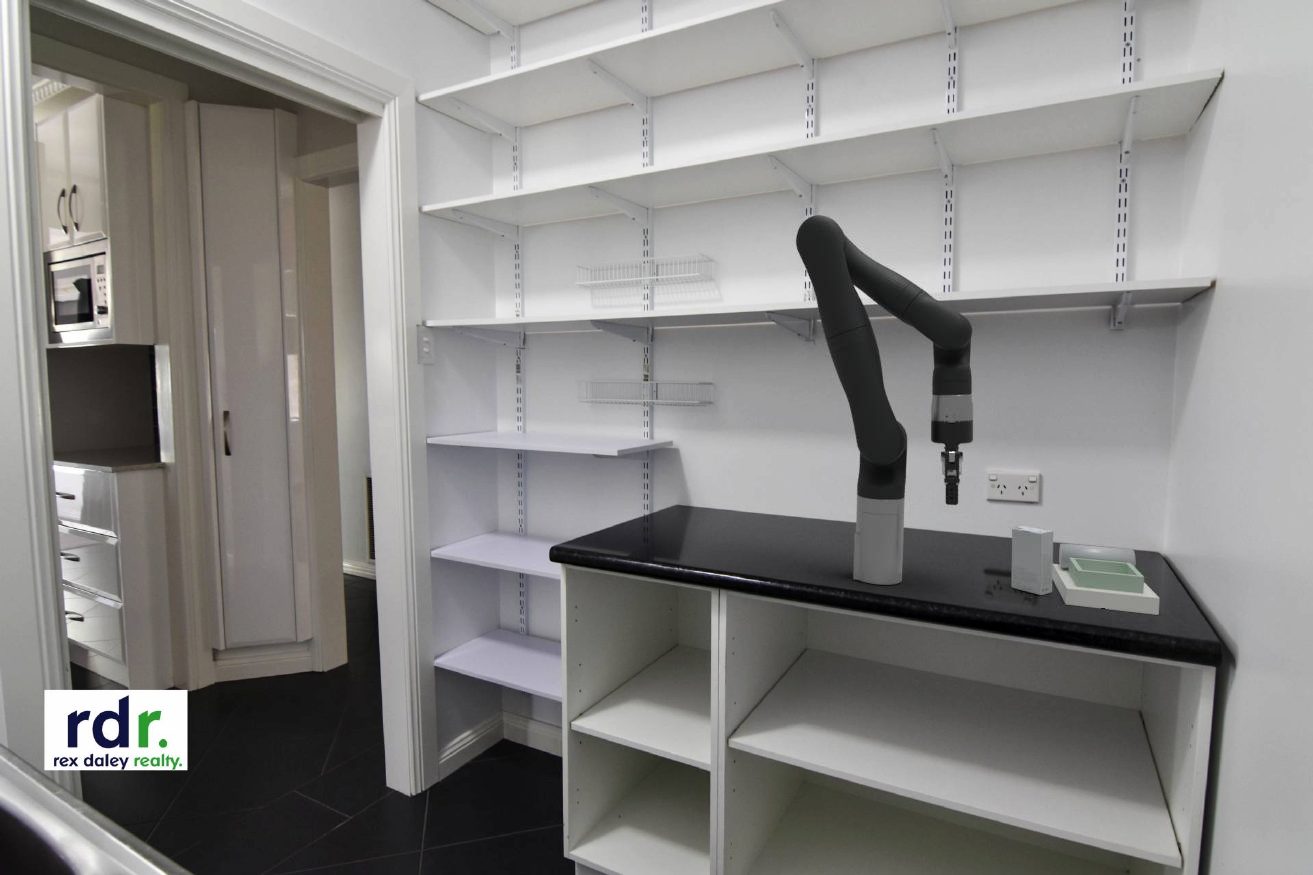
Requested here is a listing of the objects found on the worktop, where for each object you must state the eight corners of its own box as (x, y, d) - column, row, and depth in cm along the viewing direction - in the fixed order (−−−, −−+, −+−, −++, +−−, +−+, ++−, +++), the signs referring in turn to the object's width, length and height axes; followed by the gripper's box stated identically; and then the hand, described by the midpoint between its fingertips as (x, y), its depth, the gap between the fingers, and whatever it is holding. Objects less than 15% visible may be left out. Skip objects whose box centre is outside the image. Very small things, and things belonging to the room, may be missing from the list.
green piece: (1077, 586, 125) (1078, 570, 124) (1068, 572, 134) (1069, 557, 134) (1143, 593, 121) (1144, 577, 120) (1129, 578, 130) (1130, 562, 130)
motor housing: (1065, 604, 124) (1068, 561, 123) (1051, 577, 140) (1053, 539, 140) (1158, 614, 118) (1161, 570, 118) (1132, 586, 135) (1135, 546, 134)
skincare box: (1053, 592, 131) (1056, 530, 130) (1039, 596, 129) (1042, 533, 127) (1022, 584, 136) (1025, 524, 135) (1008, 587, 134) (1011, 527, 133)
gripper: (931, 416, 140) (931, 494, 141) (930, 420, 127) (930, 506, 128) (971, 416, 137) (971, 495, 138) (974, 420, 124) (974, 508, 125)
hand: (951, 500), depth 133 cm, fingers open, 8 cm apart
